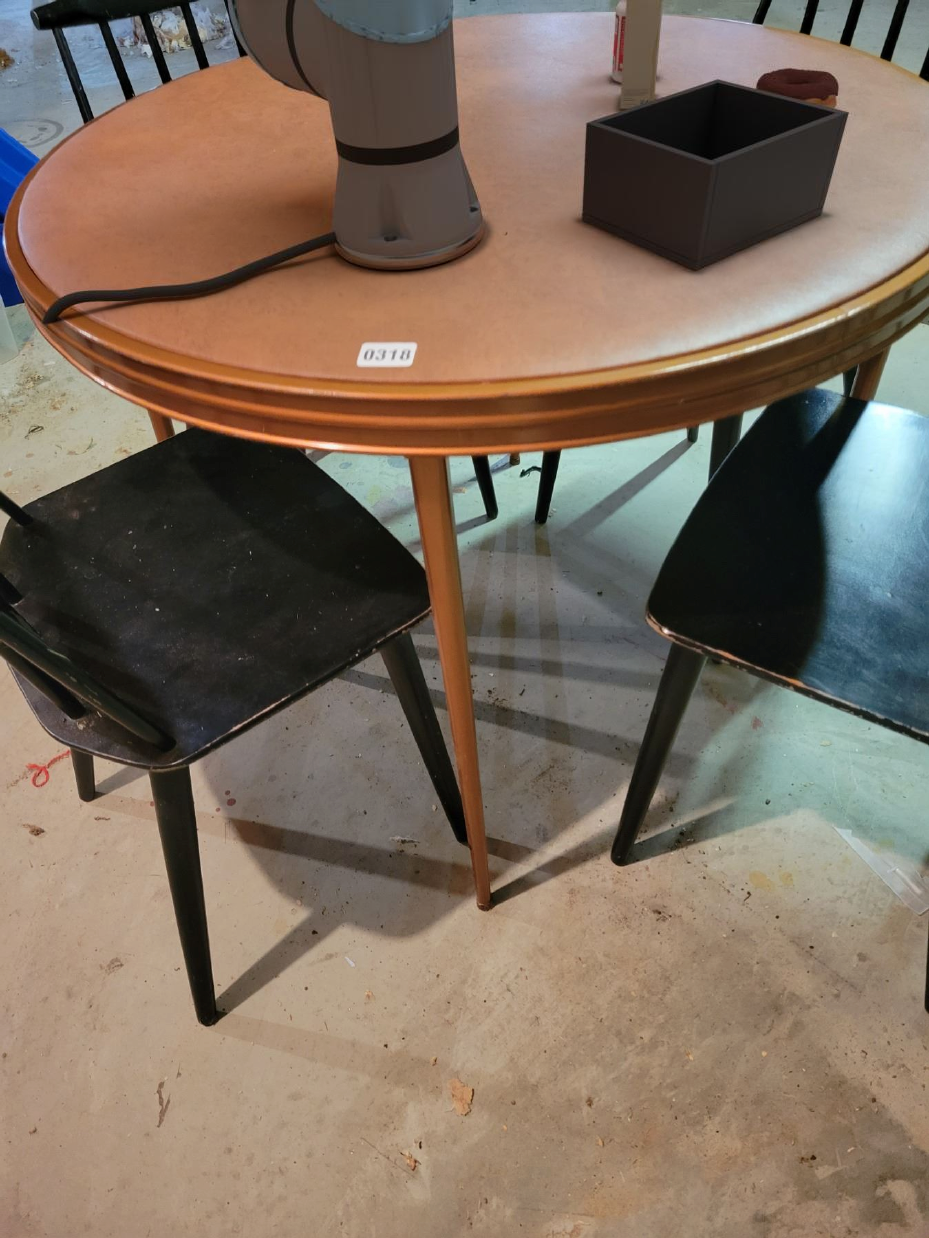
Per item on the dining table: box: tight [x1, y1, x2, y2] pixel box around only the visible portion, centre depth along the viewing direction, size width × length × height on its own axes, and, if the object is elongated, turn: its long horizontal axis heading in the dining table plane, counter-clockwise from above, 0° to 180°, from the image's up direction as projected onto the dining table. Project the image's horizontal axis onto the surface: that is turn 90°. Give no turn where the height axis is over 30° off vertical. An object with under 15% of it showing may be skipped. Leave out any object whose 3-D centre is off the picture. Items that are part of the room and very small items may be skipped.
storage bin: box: [581, 78, 850, 272], centre depth 74 cm, size 18×16×9 cm
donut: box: [755, 67, 840, 109], centre depth 94 cm, size 10×10×4 cm
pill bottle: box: [611, 0, 664, 84], centre depth 105 cm, size 6×6×11 cm
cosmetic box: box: [619, 0, 664, 110], centre depth 98 cm, size 6×4×12 cm
